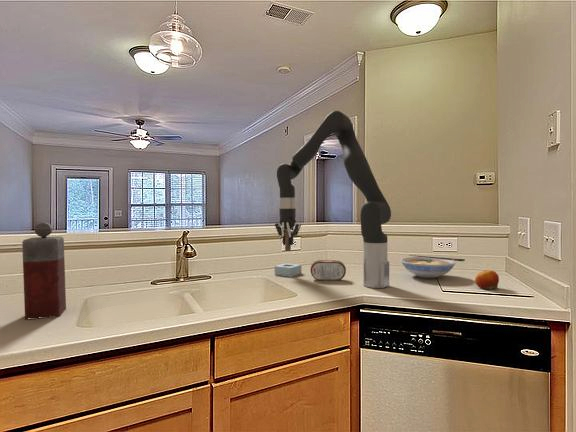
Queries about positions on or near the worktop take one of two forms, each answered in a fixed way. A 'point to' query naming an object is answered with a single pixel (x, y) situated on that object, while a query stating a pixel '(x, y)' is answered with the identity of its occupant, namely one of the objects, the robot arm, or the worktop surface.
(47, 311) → the decanter
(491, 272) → the fruit
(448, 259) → the ramen bowl
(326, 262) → the tin
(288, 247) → the dowel
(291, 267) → the light blue square box
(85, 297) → the worktop surface
